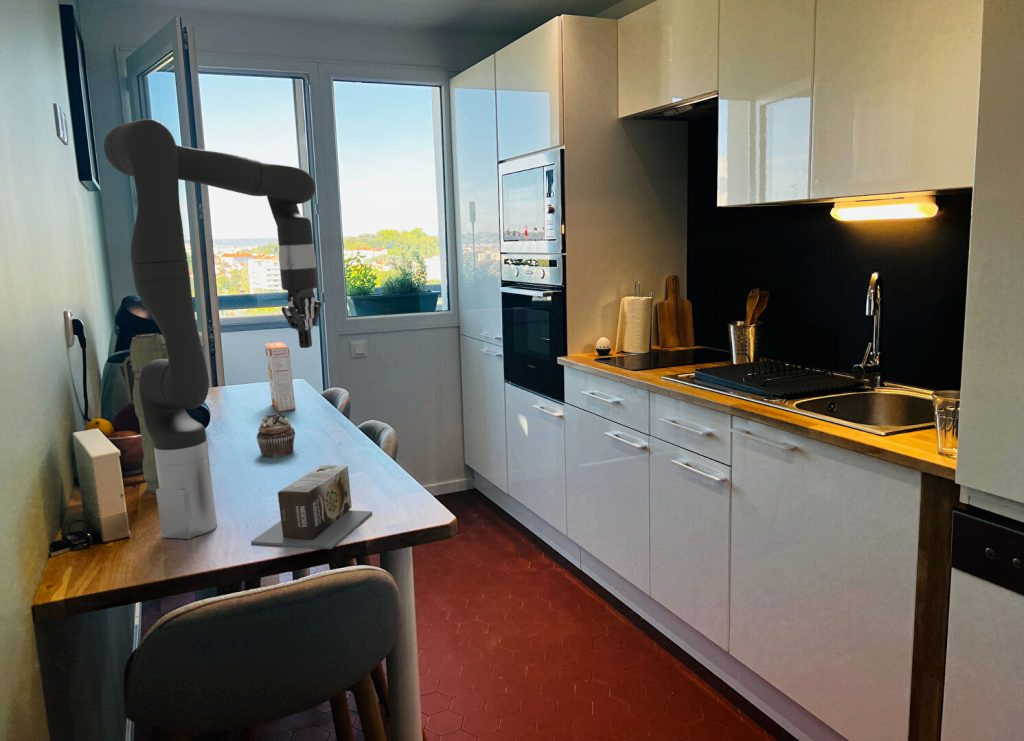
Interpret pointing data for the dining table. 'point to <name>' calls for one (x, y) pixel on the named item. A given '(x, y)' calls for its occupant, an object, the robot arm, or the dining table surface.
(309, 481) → the coffee box
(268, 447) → the cupcake
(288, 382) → the cracker box
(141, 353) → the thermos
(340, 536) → the mat
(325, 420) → the dining table surface
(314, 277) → the robot arm
